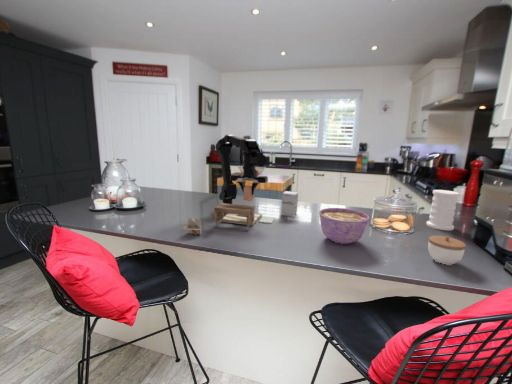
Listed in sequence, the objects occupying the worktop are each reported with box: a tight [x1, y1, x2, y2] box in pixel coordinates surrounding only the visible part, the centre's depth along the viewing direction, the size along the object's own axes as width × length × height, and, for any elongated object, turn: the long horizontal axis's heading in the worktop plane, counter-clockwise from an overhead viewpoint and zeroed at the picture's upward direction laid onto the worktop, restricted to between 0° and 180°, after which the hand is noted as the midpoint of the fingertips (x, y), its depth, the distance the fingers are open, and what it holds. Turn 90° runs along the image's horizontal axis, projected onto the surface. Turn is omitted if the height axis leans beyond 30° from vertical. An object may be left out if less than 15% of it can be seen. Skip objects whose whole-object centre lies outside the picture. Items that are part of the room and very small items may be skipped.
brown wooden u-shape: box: [213, 202, 256, 228], centre depth 124 cm, size 9×17×7 cm, turn 74°
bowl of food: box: [318, 207, 370, 245], centre depth 110 cm, size 20×20×12 cm
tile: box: [258, 215, 276, 225], centre depth 134 cm, size 9×6×1 cm
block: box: [243, 185, 254, 202], centre depth 134 cm, size 4×4×7 cm
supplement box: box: [280, 190, 299, 217], centre depth 145 cm, size 7×7×13 cm
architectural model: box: [182, 217, 202, 236], centre depth 112 cm, size 3×7×7 cm, turn 85°
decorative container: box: [426, 189, 460, 231], centre depth 131 cm, size 12×12×18 cm
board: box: [220, 212, 263, 226], centre depth 136 cm, size 16×17×2 cm
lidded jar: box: [427, 235, 467, 266], centre depth 93 cm, size 11×11×9 cm
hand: (248, 195), depth 134 cm, fingers closed on block, 4 cm apart
